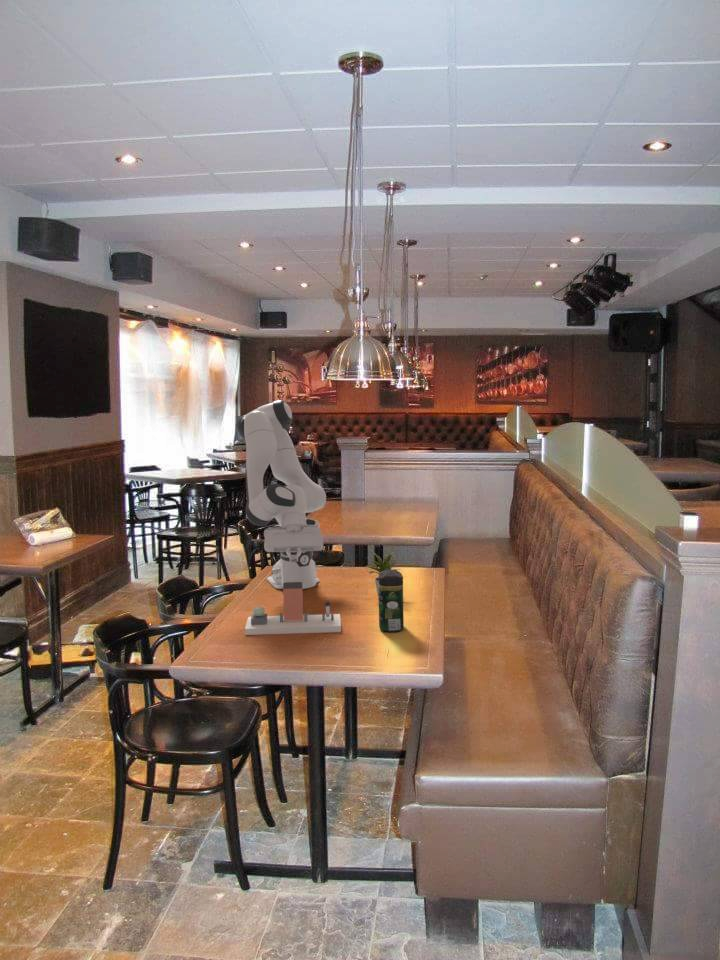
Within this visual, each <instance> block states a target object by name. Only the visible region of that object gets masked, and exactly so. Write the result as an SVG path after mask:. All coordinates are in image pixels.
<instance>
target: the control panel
mask: <svg viewBox="0 0 720 960" xmlns="http://www.w3.org/2000/svg"><path fill="white" fill-rule="evenodd" d="M244 627H245V628H244V635H245V636H252V635H253V636H257V635H259V636H260V635H283V634H284V635H285V634H286V635H287V634H290V635H292V634H315V633H316V634H317V633H318V634H319V633H322V634H323V633H341V632H342V621H341V614H340V613H330V617H326V613H325V614H323V613H322V614H308V612H303V620H284V613H279V615H268V613H265V615H263V616H254V615H253V613H252V614H251V616H248V618H247V620H246V624H245V626H244Z"/></svg>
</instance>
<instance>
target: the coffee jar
mask: <svg viewBox="0 0 720 960" xmlns="http://www.w3.org/2000/svg"><path fill="white" fill-rule="evenodd" d="M378 573H379V572H378ZM378 577H379V578H378V594H377V597H378V599H377V601H378V627H379V629H380V630H381V631H382V632H387V633H396V632H401V631H403V629H404V625H405V624H404V620H405V619H404V576H403V574H402V572H401V571H399V570H396V569H393V568H391V570H384V571H382V572H381V573H379V574H378Z"/></svg>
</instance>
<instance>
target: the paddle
mask: <svg viewBox="0 0 720 960" xmlns="http://www.w3.org/2000/svg"><path fill="white" fill-rule="evenodd" d="M282 590H283V616H284V620H303V615H304V602H303V601H304V599H303V598H304V597H303V596H304V595H303V590H304V589H302V582H284V583H283V589H282Z"/></svg>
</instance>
